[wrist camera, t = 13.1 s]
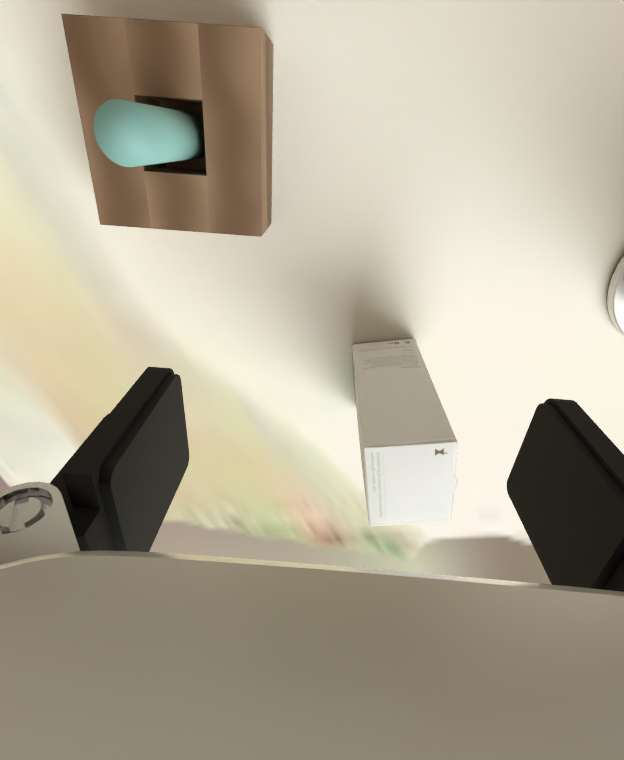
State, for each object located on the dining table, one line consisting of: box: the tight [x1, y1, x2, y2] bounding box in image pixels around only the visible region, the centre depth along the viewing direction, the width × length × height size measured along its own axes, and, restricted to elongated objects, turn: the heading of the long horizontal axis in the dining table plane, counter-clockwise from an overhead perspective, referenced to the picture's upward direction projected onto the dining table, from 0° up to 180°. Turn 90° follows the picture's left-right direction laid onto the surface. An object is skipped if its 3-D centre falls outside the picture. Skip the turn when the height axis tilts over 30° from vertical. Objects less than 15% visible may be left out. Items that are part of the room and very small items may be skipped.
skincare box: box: [352, 339, 458, 526], centre depth 36 cm, size 8×7×16 cm
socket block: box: [62, 14, 273, 236], centre depth 30 cm, size 12×12×6 cm
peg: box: [94, 99, 206, 167], centre depth 27 cm, size 3×3×12 cm
